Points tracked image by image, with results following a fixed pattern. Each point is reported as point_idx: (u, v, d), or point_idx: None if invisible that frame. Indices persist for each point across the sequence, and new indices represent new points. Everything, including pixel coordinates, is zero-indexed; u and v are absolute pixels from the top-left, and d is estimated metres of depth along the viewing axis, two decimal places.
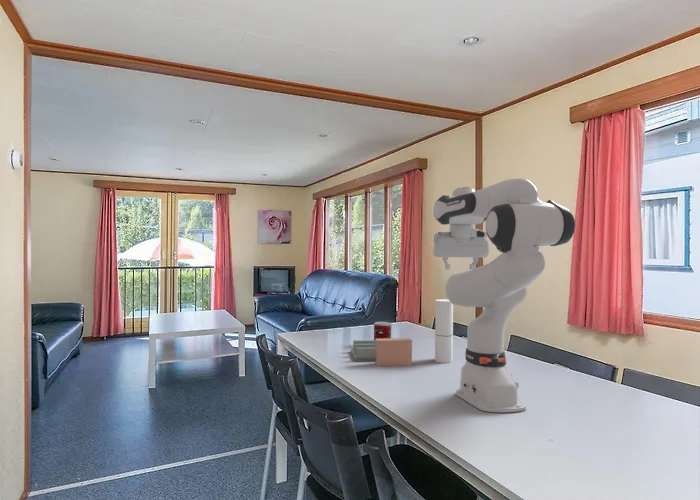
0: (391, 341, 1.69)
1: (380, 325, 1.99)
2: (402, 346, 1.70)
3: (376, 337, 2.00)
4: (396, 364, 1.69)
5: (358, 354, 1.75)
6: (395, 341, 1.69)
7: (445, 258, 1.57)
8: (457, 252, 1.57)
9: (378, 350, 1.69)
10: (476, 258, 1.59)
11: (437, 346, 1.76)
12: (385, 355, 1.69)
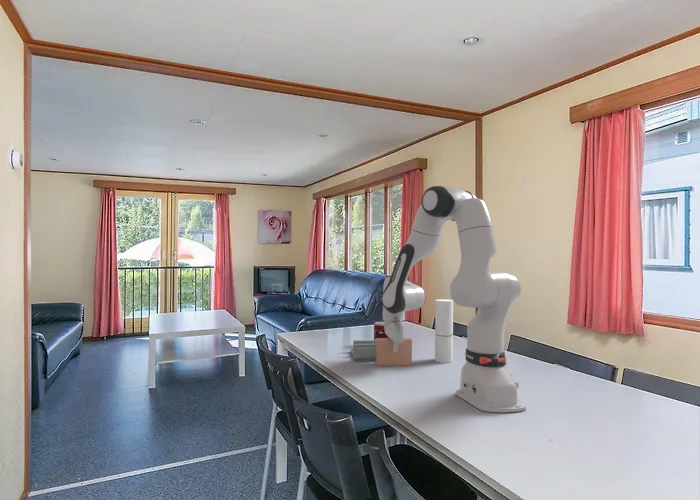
0: (391, 341, 1.69)
1: (380, 325, 1.99)
2: (401, 345, 1.70)
3: (376, 337, 2.00)
4: (396, 364, 1.69)
5: (358, 354, 1.75)
6: None
7: None
8: None
9: (378, 350, 1.69)
10: None
11: (437, 346, 1.76)
12: (385, 354, 1.69)
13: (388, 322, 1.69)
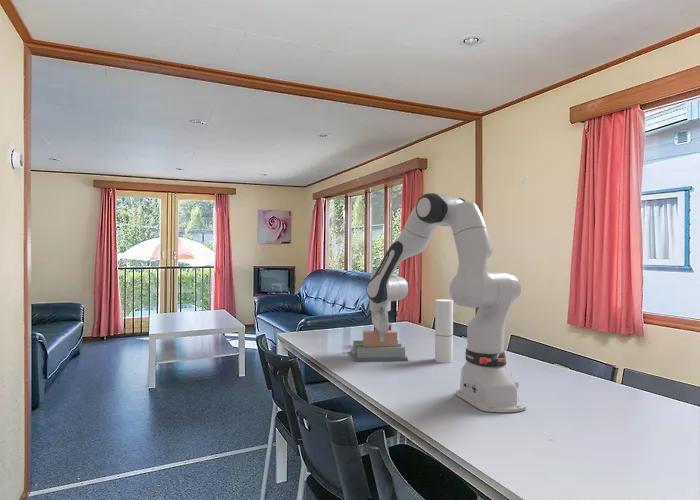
0: (377, 333, 1.78)
1: None
2: (387, 337, 1.78)
3: None
4: None
5: (358, 354, 1.75)
6: None
7: (384, 331, 1.75)
8: None
9: (365, 342, 1.78)
10: None
11: (437, 346, 1.76)
12: (371, 346, 1.78)
13: (374, 312, 1.78)
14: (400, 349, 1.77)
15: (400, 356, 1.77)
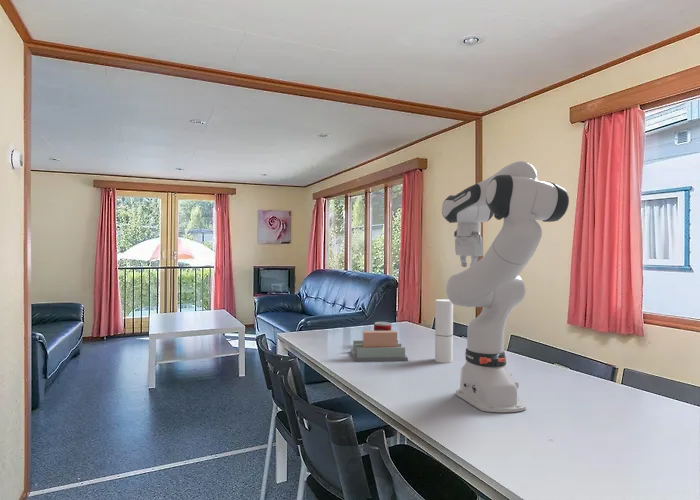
0: (377, 333, 1.78)
1: (380, 325, 1.99)
2: (387, 337, 1.78)
3: None
4: None
5: (358, 354, 1.75)
6: (381, 333, 1.78)
7: None
8: None
9: (365, 342, 1.78)
10: None
11: (437, 346, 1.76)
12: (371, 346, 1.78)
13: (464, 238, 1.65)
14: (400, 349, 1.77)
15: (400, 356, 1.77)
